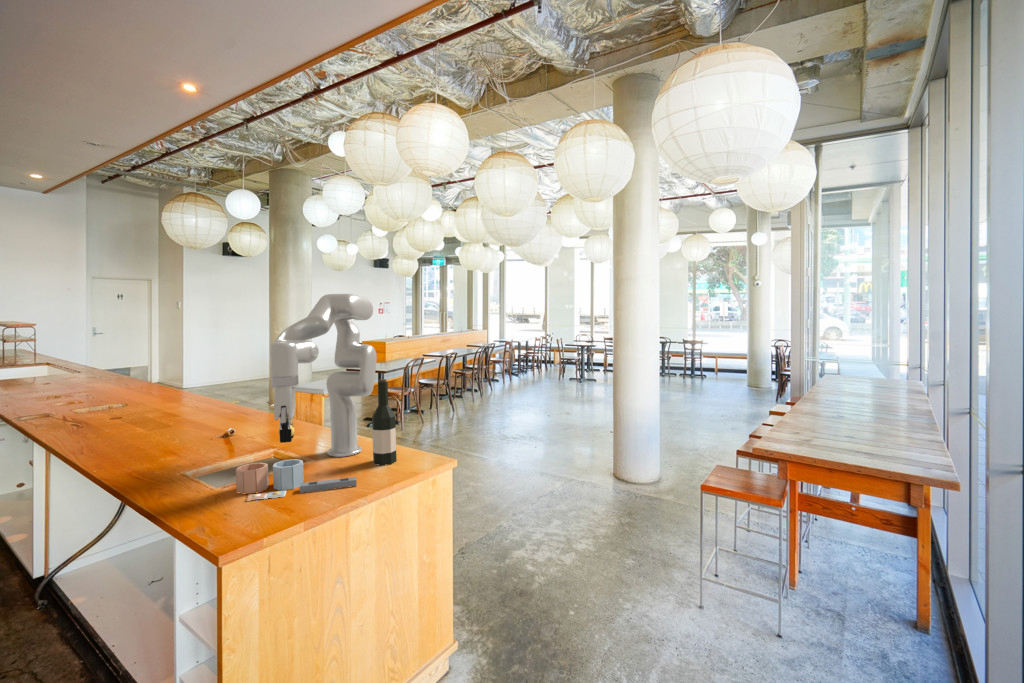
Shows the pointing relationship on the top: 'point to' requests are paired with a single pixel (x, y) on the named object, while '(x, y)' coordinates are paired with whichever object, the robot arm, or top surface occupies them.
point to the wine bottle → (383, 428)
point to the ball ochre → (291, 430)
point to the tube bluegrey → (288, 474)
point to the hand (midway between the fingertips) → (286, 439)
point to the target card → (267, 495)
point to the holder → (327, 484)
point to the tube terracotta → (252, 478)
